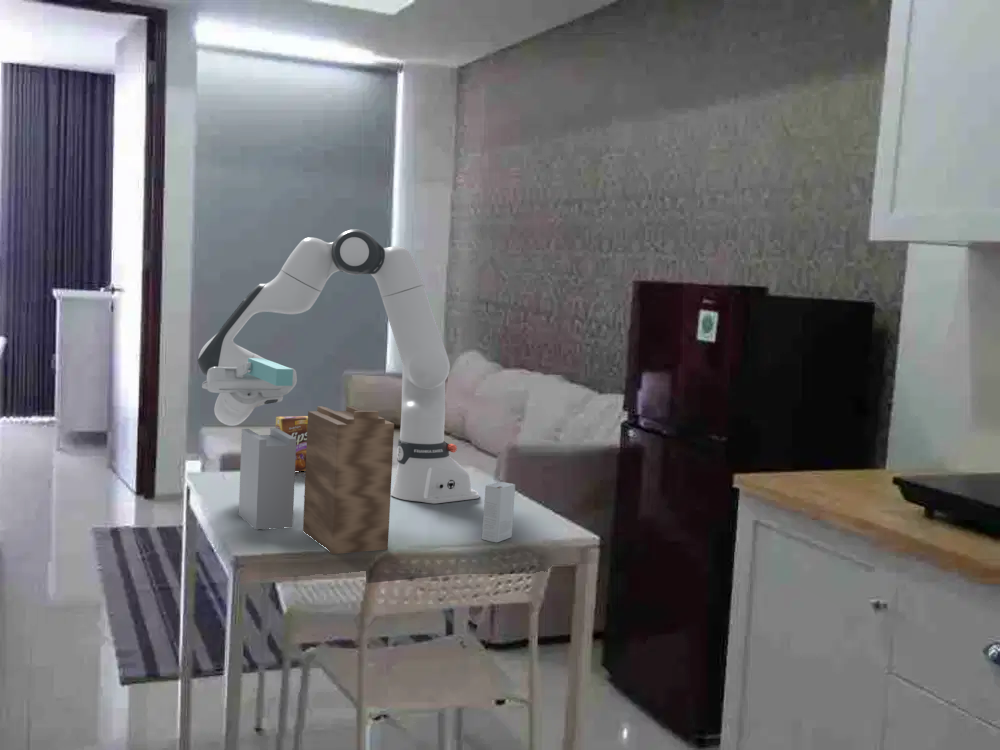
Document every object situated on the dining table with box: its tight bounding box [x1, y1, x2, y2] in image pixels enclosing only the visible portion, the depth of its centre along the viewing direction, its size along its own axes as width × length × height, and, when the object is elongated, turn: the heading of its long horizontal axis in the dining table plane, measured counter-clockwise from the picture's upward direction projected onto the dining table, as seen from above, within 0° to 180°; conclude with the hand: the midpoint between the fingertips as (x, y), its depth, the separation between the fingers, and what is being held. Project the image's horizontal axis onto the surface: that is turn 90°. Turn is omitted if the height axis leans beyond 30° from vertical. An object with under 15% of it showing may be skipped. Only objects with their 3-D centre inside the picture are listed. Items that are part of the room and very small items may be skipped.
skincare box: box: [481, 481, 516, 543], centre depth 224 cm, size 6×4×12 cm
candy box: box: [275, 415, 308, 471], centre depth 282 cm, size 9×4×15 cm, turn 123°
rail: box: [248, 357, 294, 386], centre depth 225 cm, size 4×22×4 cm, turn 29°
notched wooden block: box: [302, 405, 395, 555], centre depth 214 cm, size 12×18×28 cm, turn 29°
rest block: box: [238, 427, 296, 530], centre depth 226 cm, size 8×14×20 cm, turn 29°
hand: (260, 365), depth 231 cm, fingers closed on rail, 3 cm apart
